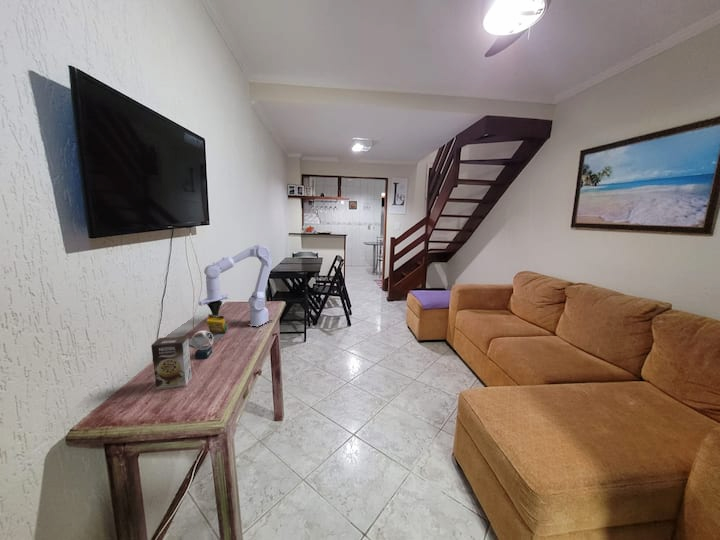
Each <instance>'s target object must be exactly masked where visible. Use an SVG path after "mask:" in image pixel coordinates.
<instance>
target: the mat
mask: <svg viewBox="0 0 720 540" xmlns="http://www.w3.org/2000/svg"><path fill="white" fill-rule="evenodd" d="M211 333H212V335H213V337H214V341H215V339H216V340H219V339H221V338H223V337H224V334H222V333H217V332H211ZM222 336H223V337H222ZM220 337H221V338H220ZM194 338H195V340H196V341H197V343H198V344H199V345H200V347H201V346H205V345H207V344H209V343H208V342H206V341H205V339H204V337H203V335H202V334H200V335H197V336H195V337H194ZM188 339H189V347H192V348H195V347H194V346H193V344H192V340H191V339H192V338H188ZM206 343H207V344H206Z"/></svg>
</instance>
